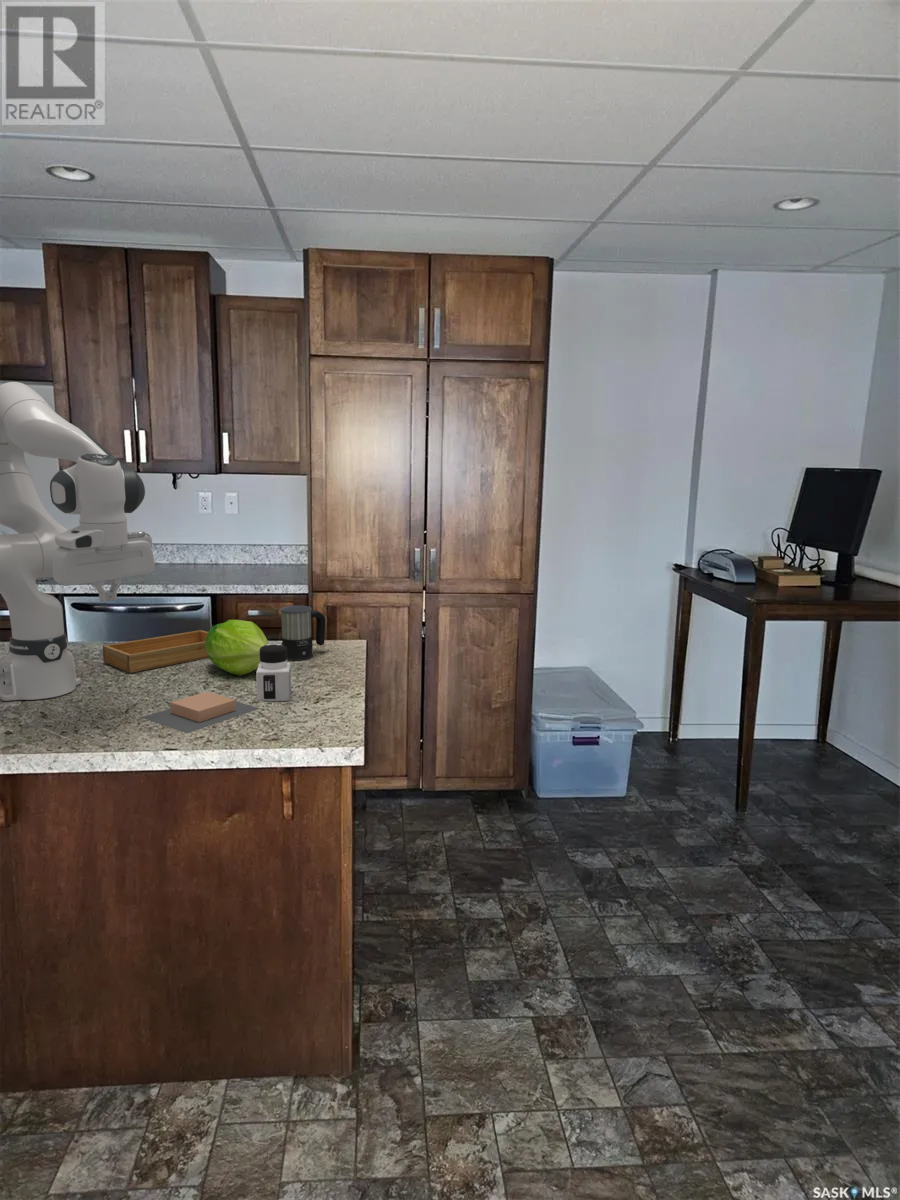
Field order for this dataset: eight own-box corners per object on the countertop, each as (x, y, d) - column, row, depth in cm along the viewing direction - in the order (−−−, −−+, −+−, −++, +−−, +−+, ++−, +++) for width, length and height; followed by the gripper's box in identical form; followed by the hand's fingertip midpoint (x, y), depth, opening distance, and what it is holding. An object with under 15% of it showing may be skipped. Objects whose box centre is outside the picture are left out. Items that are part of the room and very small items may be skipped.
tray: (201, 646, 229) (201, 628, 227) (229, 655, 219) (229, 636, 218) (103, 665, 205) (102, 645, 204) (129, 676, 196) (128, 655, 195)
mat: (141, 719, 163) (141, 717, 163) (215, 696, 179) (215, 695, 179) (187, 735, 154) (186, 733, 154) (260, 710, 170) (260, 708, 170)
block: (170, 702, 165) (207, 691, 173) (170, 713, 165) (207, 702, 174) (198, 711, 159) (235, 699, 168) (199, 723, 160) (235, 710, 168)
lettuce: (291, 668, 202) (246, 688, 189) (236, 654, 214) (191, 673, 202) (284, 618, 197) (238, 636, 185) (229, 607, 210) (183, 623, 198)
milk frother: (296, 663, 211) (296, 612, 208) (258, 654, 219) (257, 605, 217) (330, 653, 223) (330, 605, 220) (292, 645, 231) (292, 599, 228)
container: (289, 701, 177) (288, 649, 175) (256, 702, 176) (255, 650, 174) (291, 691, 185) (290, 641, 182) (259, 692, 184) (258, 642, 181)
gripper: (143, 528, 160) (146, 590, 164) (46, 537, 144) (51, 605, 148) (159, 532, 157) (161, 595, 160) (61, 541, 141) (66, 611, 144)
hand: (108, 600), depth 154 cm, fingers closed
